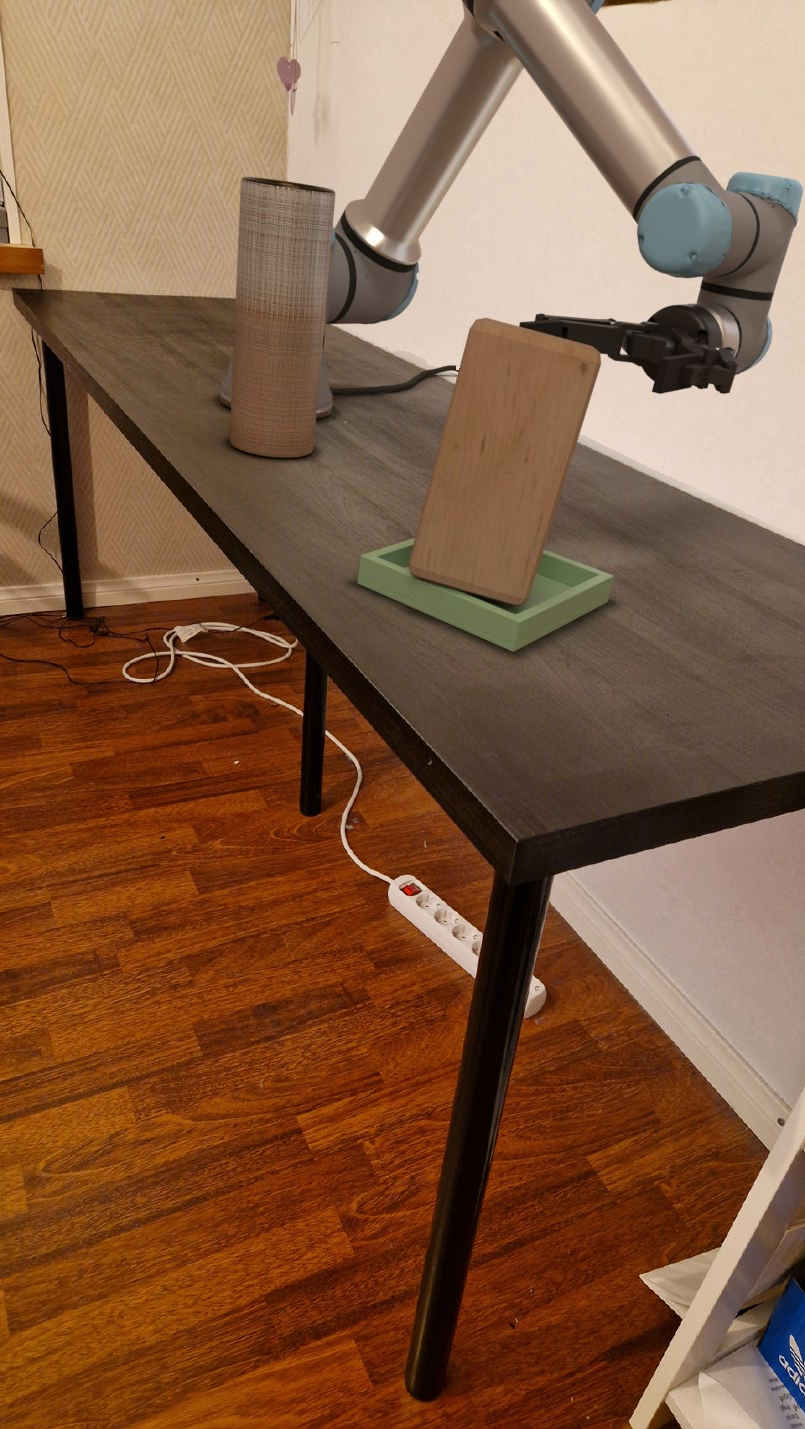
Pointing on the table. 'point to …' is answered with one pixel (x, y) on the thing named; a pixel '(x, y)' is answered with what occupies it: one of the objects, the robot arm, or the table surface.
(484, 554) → the wooden block
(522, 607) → the green serving tray
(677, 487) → the table surface
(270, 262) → the vase
